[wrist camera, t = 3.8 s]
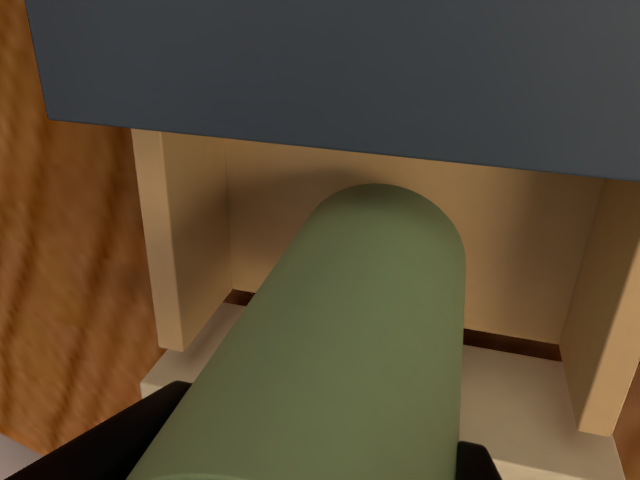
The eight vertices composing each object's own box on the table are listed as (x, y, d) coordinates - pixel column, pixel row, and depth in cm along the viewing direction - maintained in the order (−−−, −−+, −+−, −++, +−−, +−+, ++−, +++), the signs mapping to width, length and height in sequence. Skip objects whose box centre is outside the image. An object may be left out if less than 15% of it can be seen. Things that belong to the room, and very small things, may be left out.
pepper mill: (452, 344, 15) (417, 874, 6) (298, 317, 16) (75, 742, 7) (478, 193, 13) (481, 660, 4) (300, 173, 14) (-6, 515, 5)
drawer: (553, 492, 20) (572, 629, 16) (217, 416, 23) (158, 515, 19) (737, -78, 12) (877, -106, 8) (179, -84, 15) (60, -107, 11)
